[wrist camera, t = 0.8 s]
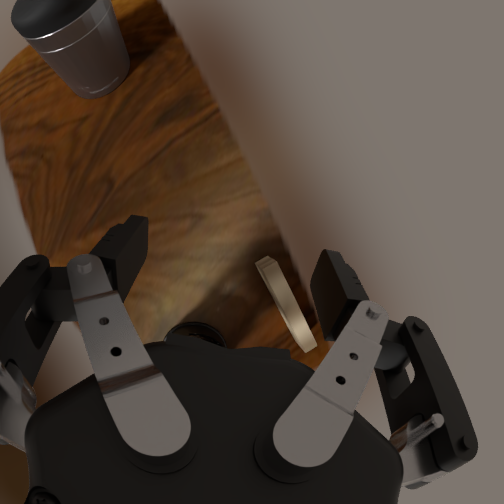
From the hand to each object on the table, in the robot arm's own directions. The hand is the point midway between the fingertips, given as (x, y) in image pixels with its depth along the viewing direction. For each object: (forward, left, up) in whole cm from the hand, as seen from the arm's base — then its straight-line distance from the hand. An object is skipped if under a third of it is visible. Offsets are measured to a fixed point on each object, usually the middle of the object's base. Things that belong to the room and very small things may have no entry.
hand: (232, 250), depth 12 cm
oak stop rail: (+15, +4, -23) cm, 28 cm away
